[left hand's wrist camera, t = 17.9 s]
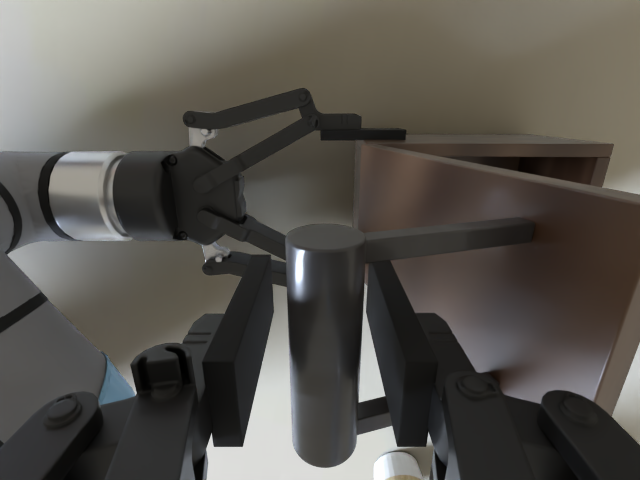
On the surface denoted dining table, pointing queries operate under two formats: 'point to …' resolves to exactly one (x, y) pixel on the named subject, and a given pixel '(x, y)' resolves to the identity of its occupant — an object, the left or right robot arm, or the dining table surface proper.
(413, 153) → the panel with cylinder handle
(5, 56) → the dining table surface
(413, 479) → the coffee cup
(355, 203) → the chest
